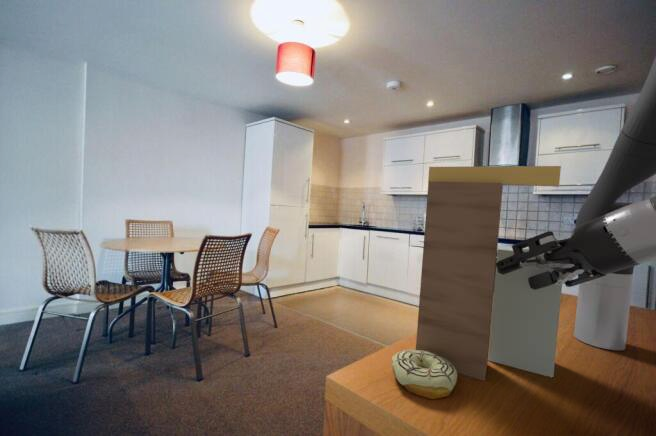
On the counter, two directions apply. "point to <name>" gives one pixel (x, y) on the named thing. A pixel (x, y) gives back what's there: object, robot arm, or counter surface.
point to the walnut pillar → (459, 273)
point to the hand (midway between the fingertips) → (514, 276)
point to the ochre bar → (498, 175)
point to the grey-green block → (524, 319)
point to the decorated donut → (424, 373)
